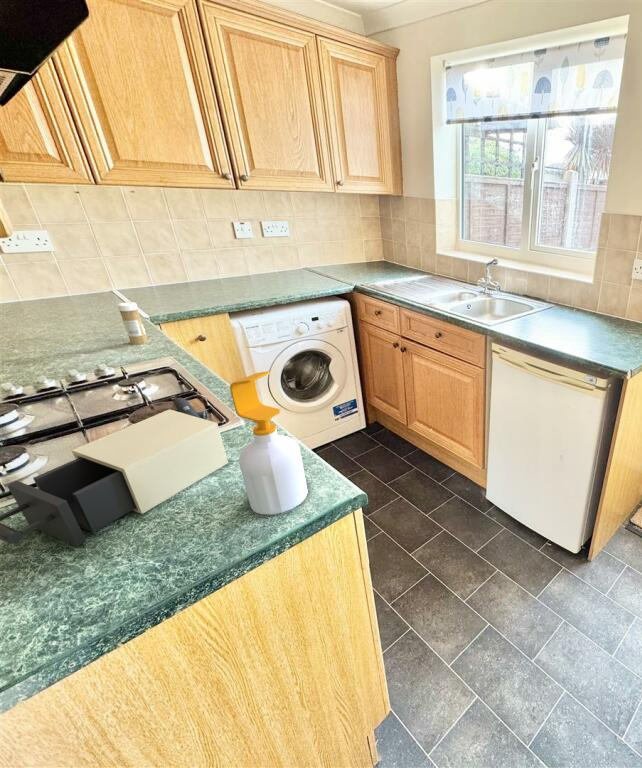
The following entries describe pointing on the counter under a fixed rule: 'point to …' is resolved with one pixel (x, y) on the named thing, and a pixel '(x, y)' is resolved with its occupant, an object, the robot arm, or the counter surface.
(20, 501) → the dark grey drawer
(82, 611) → the counter surface
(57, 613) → the counter surface
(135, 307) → the sprinkles bottle
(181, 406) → the grey club-shaped piece
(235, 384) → the spray bottle
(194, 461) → the drawer box
